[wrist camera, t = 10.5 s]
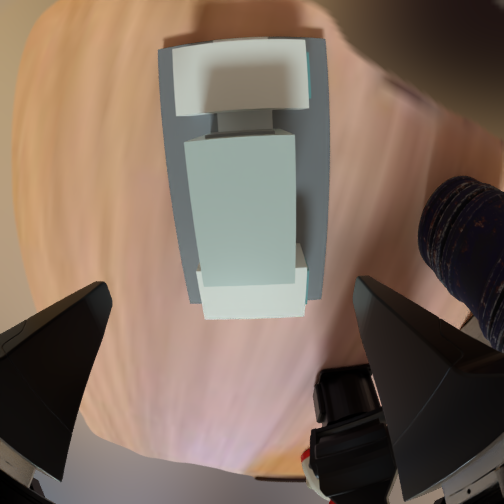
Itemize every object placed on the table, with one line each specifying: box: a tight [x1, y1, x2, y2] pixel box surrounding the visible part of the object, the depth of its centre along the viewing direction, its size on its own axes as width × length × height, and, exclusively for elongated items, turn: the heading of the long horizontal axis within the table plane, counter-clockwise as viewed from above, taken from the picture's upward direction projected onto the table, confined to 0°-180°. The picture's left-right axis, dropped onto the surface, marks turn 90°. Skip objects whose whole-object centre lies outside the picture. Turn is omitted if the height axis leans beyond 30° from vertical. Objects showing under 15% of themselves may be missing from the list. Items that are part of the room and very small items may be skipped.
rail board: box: [158, 37, 330, 319], centre depth 17 cm, size 11×20×4 cm, turn 3°
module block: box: [184, 129, 296, 287], centre depth 15 cm, size 4×7×7 cm, turn 3°
